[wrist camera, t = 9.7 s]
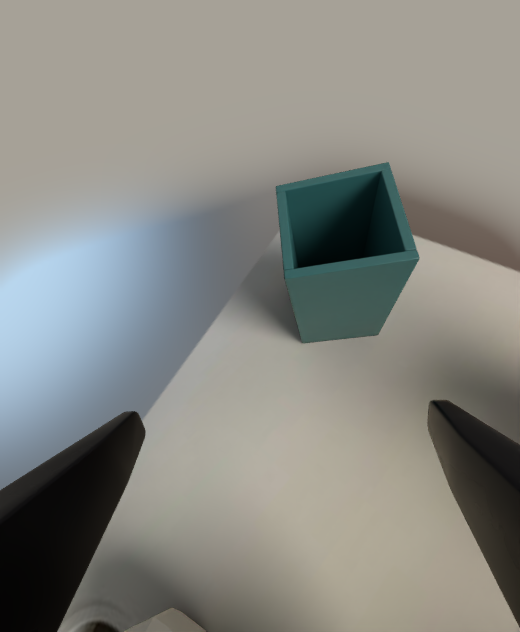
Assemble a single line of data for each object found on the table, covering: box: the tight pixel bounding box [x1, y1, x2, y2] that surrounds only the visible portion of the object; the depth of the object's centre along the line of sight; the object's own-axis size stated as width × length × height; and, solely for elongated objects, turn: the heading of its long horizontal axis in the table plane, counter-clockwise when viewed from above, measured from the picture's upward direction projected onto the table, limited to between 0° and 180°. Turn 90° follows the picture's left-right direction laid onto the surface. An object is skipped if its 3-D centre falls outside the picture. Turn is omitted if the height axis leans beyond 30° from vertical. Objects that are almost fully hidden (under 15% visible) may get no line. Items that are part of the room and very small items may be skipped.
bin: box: [276, 162, 419, 343], centre depth 19 cm, size 6×6×11 cm
